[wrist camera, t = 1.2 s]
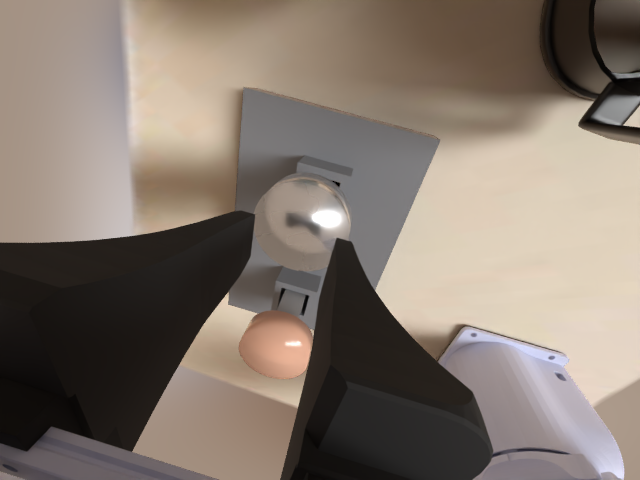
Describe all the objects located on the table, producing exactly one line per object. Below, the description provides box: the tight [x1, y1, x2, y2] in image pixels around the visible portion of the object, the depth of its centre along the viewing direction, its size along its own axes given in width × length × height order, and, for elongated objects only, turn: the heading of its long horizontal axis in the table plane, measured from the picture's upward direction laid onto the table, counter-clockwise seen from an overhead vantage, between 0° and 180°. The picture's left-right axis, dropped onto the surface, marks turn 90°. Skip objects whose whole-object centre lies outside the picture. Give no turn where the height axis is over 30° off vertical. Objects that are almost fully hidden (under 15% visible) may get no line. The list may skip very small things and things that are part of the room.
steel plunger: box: [254, 173, 352, 271], centre depth 14 cm, size 4×4×6 cm
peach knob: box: [239, 289, 313, 379], centre depth 19 cm, size 4×4×6 cm
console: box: [228, 87, 440, 330], centre depth 20 cm, size 12×18×4 cm, turn 167°
